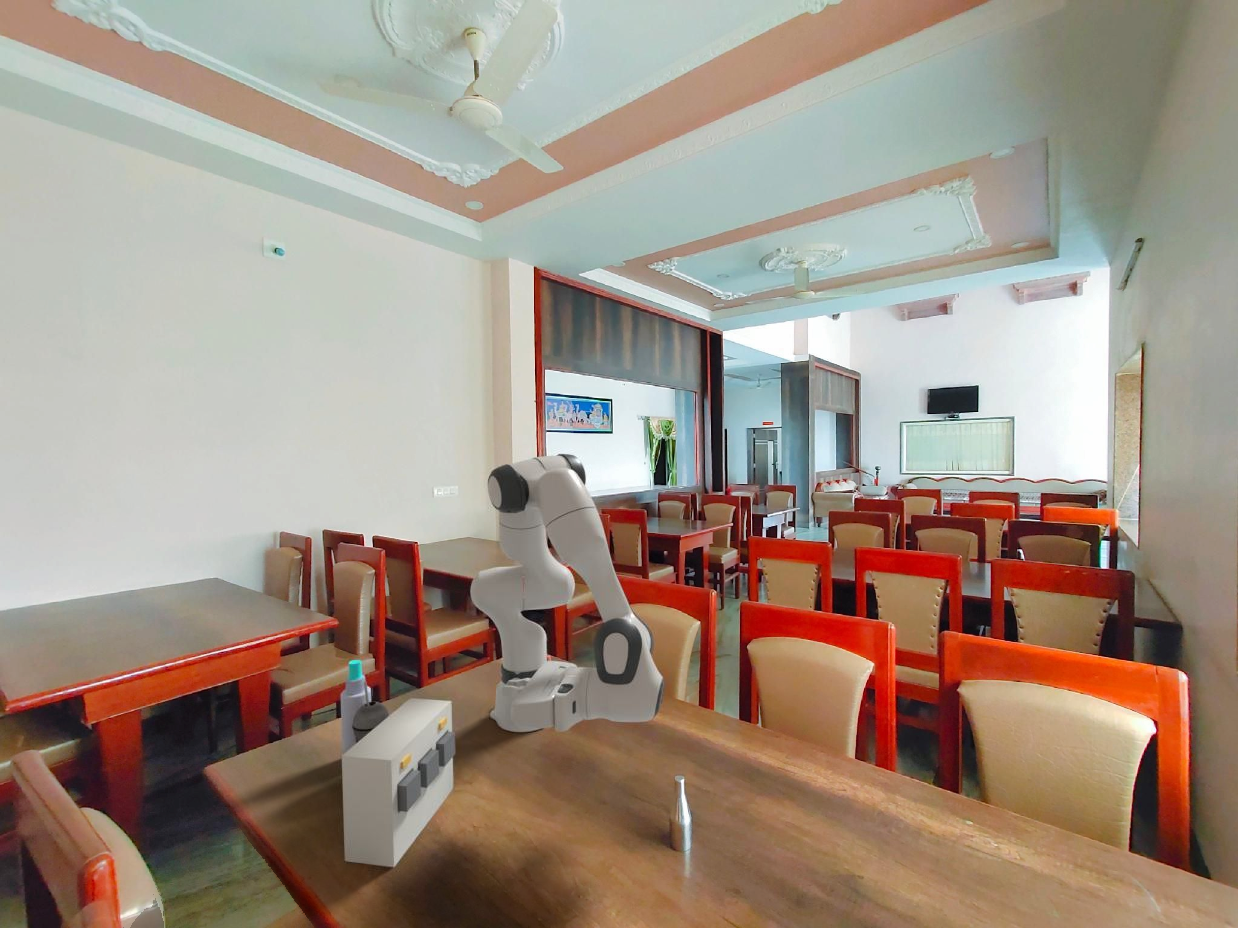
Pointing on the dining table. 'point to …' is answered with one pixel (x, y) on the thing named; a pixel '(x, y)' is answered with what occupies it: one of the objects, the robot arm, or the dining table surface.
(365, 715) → the beverage cup
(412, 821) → the key panel
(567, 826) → the dining table surface
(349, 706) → the spray bottle
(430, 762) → the key middle
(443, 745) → the key
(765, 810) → the dining table surface
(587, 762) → the dining table surface
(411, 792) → the key
